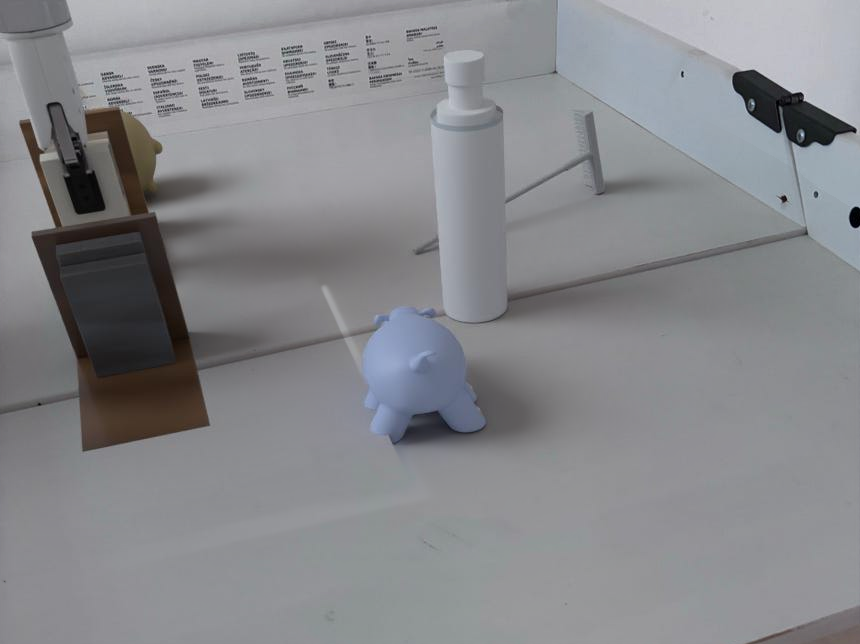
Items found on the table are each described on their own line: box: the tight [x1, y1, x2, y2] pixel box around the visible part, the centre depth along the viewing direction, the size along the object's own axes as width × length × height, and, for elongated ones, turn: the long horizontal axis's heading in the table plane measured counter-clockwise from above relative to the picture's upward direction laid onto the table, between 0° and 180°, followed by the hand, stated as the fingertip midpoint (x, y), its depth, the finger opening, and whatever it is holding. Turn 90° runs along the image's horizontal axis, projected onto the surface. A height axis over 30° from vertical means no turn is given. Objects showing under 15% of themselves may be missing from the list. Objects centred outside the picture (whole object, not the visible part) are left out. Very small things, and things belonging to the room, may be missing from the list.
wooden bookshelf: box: [18, 106, 150, 228], centre depth 109 cm, size 18×11×13 cm, turn 18°
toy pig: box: [91, 106, 164, 194], centre depth 123 cm, size 10×12×11 cm
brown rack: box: [31, 211, 211, 453], centre depth 87 cm, size 18×11×13 cm, turn 18°
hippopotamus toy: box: [362, 305, 487, 444], centre depth 85 cm, size 11×15×10 cm
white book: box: [40, 145, 129, 227], centre depth 106 cm, size 2×7×10 cm, turn 108°
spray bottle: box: [429, 49, 508, 324], centre depth 93 cm, size 7×7×25 cm
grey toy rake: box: [412, 107, 606, 255], centre depth 115 cm, size 4×27×9 cm, turn 124°
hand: (90, 205), depth 106 cm, fingers closed on white book, 2 cm apart
